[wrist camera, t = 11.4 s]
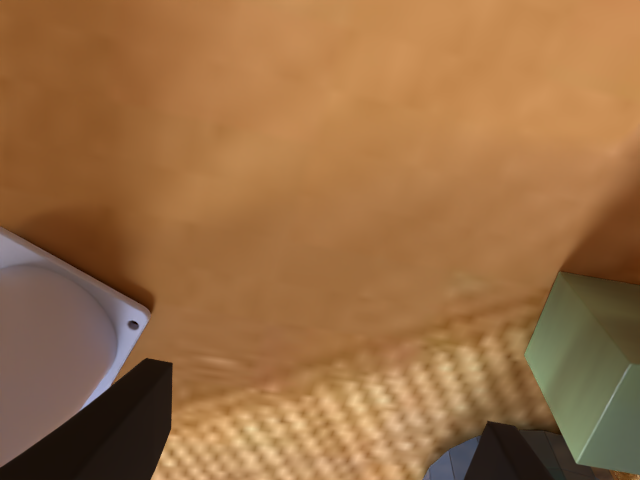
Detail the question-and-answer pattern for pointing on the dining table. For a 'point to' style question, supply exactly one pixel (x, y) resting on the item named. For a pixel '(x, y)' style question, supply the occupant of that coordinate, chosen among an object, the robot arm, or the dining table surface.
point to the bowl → (549, 447)
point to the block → (592, 368)
